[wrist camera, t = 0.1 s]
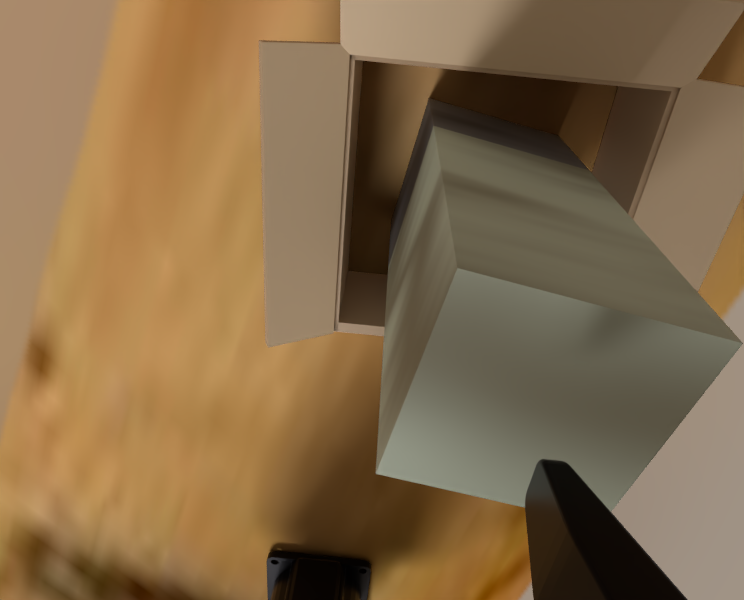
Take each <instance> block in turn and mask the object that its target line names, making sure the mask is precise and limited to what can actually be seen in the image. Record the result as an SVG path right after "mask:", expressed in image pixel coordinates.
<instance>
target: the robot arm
mask: <svg viewBox="0 0 744 600" xmlns="http://www.w3.org/2000/svg"><path fill="white" fill-rule="evenodd" d="M525 512H526V523H527V534H528V545H529V555H530V566H531V577H532V588H533V597H534V600H687V599H686V597H685V596H684V595H683V594H682V593H681V592H680V591H679V590H678V588H677V587H676V586H675V585H674V584H673V583H672V581H671V580H670V579H669V578H668V577H667V576H666V575H665V574H664V572H663V571H662V570H661V569H660V568H659V567H658V565H657V564H656V563H655V562H654V561H653V560H652V559H651V557H650V556H649V555H648V554H647V553H646V552H645V551H644V550H643V548H642V547H641V546H640V545H639V544H638V543H637V541H636V540H635V539H634V538H633V537H632V536H631V535H630V533H629V532H628V531H627V530H626V529H625V528H624V527H623V525H622V524H621V523H620V522H619V521H618V520H617V518H616V517H615V516H614V515H613V514H612V513H611V512H610V510H609V509H608V508H607V507H606V506H605V505H604V504H603V502H602V501H601V500H600V499H599V498H598V497H597V496H596V494H595V493H594V492H593V491H592V490H591V489H590V488H589V486H588V485H587V484H586V483H585V482H584V481H583V480H582V478H581V477H580V476H579V475H578V474H577V473H576V472H575V470H574V469H573V468H572V467H571V466H570V465H569V464H568V463H566V462H564V461H560V460H550V459H541V460H539V461H538V463H537V464H536V467H535V470H534V472H533V475H532V478H531V481H530V484H529V486H528V489H527V492H526V497H525ZM370 574H371V564H370V563H369V562H368V561H365V560H355V559H346V558H336V557H326V556H316V555H306V554H296V553H286V552H277V551H273V552H270V553H269V554H268V558H267V587H268V600H367V595H368V588H369V581H370Z"/></svg>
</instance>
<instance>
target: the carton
mask: <svg viewBox="0 0 744 600" xmlns="http://www.w3.org/2000/svg"><path fill="white" fill-rule="evenodd" d="M743 11H744V0H340V40H341V43H335V42H300V41H265V40H259V69H260V114H261V159H262V204H263V250H264V295H265V340H266V344H267V346H268V347H273V346H277V345H282V344H286V343H291V342H296V341H300V340H305V339H309V338H314V337H319V336H323V335H328V334H332V333H334V331H337V332H347V333H357V334H366V335H376V336H384V329H385V312H386V296H387V279H388V275H385V274H375V273H365V272H355V271H348V266H349V252H350V238H351V224H352V210H353V195H354V181H355V167H356V153H357V139H358V124H359V110H360V96H361V82H362V67H363V61H372V62H382V63H392V64H402V65H412V66H422V67H432V68H442V69H452V70H462V71H472V72H482V73H492V74H502V75H512V76H522V77H532V78H542V79H552V80H562V81H572V82H582V83H592V84H602V85H612V86H618V89H617V92H616V96H615V99H614V102H613V105H612V109H611V112H610V115H609V118H608V122H607V125H606V128H605V132H604V135H603V138H602V141H601V145H600V148H599V151H598V155H597V158H596V161H595V164H594V168H593V171H592V174H593V175H594V176H595V178H596V179H597V180H598V181H599V182H600V183H601V184H602V185H603V187H604V188H605V189H606V190H607V191H608V192H609V193H610V194H611V196H612V197H613V198H614V199H615V200H616V201H617V202H618V203H619V205H620V206H621V207H622V208H623V209H624V210H625V211H626V212H627V214H628V215H629V216H630V217H631V218H632V219H633V220H634V221H635V223H636V224H637V225H638V226H639V227H640V228H641V229H642V230H643V232H644V233H645V234H646V235H647V236H648V237H649V238H650V239H651V241H652V242H653V243H654V244H655V245H656V246H657V247H658V248H659V250H660V251H661V252H662V253H663V254H664V255H665V256H666V257H667V259H668V260H669V261H670V262H671V263H672V264H673V265H674V266H675V268H676V269H677V270H678V271H679V272H680V273H681V274H682V275H683V277H684V278H685V279H686V280H687V281H688V282H689V283H690V284H691V286H692V287H693V288H694V289H695V290H696V291H697V292H698V291H699V288H700V286H701V284H702V282H703V280H704V278H705V275H706V273H707V271H708V269H709V267H710V265H711V263H712V260H713V258H714V256H715V254H716V252H717V250H718V248H719V245H720V243H721V241H722V239H723V237H724V235H725V232H726V230H727V228H728V226H729V224H730V222H731V220H732V217H733V215H734V213H735V211H736V209H737V207H738V205H739V202H740V200H741V198H742V196H743V194H744V86H740V85H734V84H728V83H722V82H715V81H709V80H703V79H697V78H698V76H699V75H700V74H701V72H702V71H703V69H704V68H705V66H706V65H707V63H708V62H709V60H710V59H711V57H712V56H713V55H714V53H715V52H716V50H717V49H718V47H719V46H720V44H721V43H722V41H723V40H724V39H725V37H726V36H727V34H728V33H729V31H730V30H731V28H732V27H733V25H734V24H735V23H736V21H737V20H738V18H739V17H740V15H741V14H742V12H743Z"/></svg>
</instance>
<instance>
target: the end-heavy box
mask: <svg viewBox="0 0 744 600" xmlns="http://www.w3.org/2000/svg"><path fill="white" fill-rule="evenodd" d="M742 344H743V343H742V342H741V341H740V340H739V338H738V337H737V336H736V335H735V334H734V333H733V332H732V330H731V329H730V328H729V327H728V326H727V325H726V324H725V323H724V321H723V320H722V319H721V318H720V317H719V316H718V315H717V314H716V312H715V311H714V310H713V309H712V308H711V307H710V306H709V305H708V303H707V302H706V301H705V300H704V299H703V298H702V297H701V296H700V294H699V293H698V292H697V291H696V290H695V289H694V288H693V287H692V286H691V284H690V283H689V282H688V281H687V280H686V279H685V278H684V277H683V275H682V274H681V273H680V272H679V271H678V270H677V269H676V268H675V266H674V265H673V264H672V263H671V262H670V261H669V260H668V259H667V257H666V256H665V255H664V254H663V253H662V252H661V251H660V250H659V248H658V247H657V246H656V245H655V244H654V243H653V242H652V241H651V239H650V238H649V237H648V236H647V235H646V234H645V233H644V232H643V230H642V229H641V228H640V227H639V226H638V225H637V224H636V223H635V221H634V220H633V219H632V218H631V217H630V216H629V215H628V214H627V212H626V211H625V210H624V209H623V208H622V207H621V206H620V205H619V203H618V202H617V201H616V200H615V199H614V198H613V197H612V196H611V194H610V193H609V192H608V191H607V190H606V189H605V188H604V187H603V185H602V184H601V183H600V182H599V181H598V180H597V179H596V178H595V176H594V175H593V174H592V173H591V172H590V171H589V170H588V169H587V167H586V166H585V165H584V164H583V163H582V162H581V161H580V160H579V158H578V157H577V156H576V155H575V154H574V153H573V152H572V151H571V149H570V148H569V147H568V146H567V145H566V144H565V143H564V142H563V140H562V139H561V138H560V137H559V136H557V135H554V134H550V133H547V132H544V131H540V130H537V129H533V128H530V127H526V126H523V125H520V124H516V123H513V122H509V121H506V120H502V119H499V118H496V117H492V116H489V115H485V114H482V113H478V112H475V111H472V110H468V109H465V108H461V107H458V106H454V105H451V104H448V103H444V102H441V101H437V100H434V99H431V98H429V100H428V103H427V106H426V109H425V113H424V116H423V119H422V122H421V126H420V129H419V132H418V135H417V139H416V142H415V145H414V148H413V152H412V155H411V158H410V161H409V165H408V168H407V171H406V174H405V178H404V181H403V184H402V187H401V191H400V194H399V197H398V200H397V204H396V207H395V210H394V213H393V217H392V220H391V230H390V247H389V263H388V279H387V296H386V312H385V329H384V345H383V361H382V378H381V394H380V410H379V427H378V443H377V460H376V474H379V475H383V476H388V477H392V478H396V479H401V480H405V481H410V482H414V483H419V484H423V485H428V486H432V487H436V488H441V489H445V490H450V491H454V492H459V493H463V494H467V495H472V496H476V497H481V498H485V499H490V500H494V501H499V502H503V503H507V504H512V505H516V506H521V507H525V497H526V492H527V489H528V486H529V484H530V481H531V478H532V475H533V472H534V470H535V467H536V464H537V463H538V461H539V460H541V459H550V460H560V461H564V462H566V463H568V464H569V465H570V466H571V467H572V468H573V469H574V470H575V472H576V473H577V474H578V475H579V476H580V477H581V478H582V480H583V481H584V482H585V483H586V484H587V485H588V486H589V488H590V489H591V490H592V491H593V492H594V493H595V494H596V496H597V497H598V498H599V499H600V500H601V501H602V502H603V504H604V505H605V506H606V507H607V508H608V509H609V510H610V512H611V511H612V510H613V509H614V507H615V506H616V505H617V503H618V502H619V501H620V500H621V498H622V497H623V496H624V494H625V493H626V492H627V491H628V489H629V488H630V487H631V486H632V484H633V483H634V482H635V481H636V479H637V478H638V477H639V475H640V474H641V473H642V472H643V470H644V469H645V467H647V465H648V464H649V463H650V461H651V460H652V459H653V458H654V456H655V455H656V454H657V452H658V451H659V450H660V449H661V447H662V446H663V445H664V444H665V442H666V441H667V440H668V438H669V437H670V436H671V435H672V433H673V432H674V431H675V429H676V428H677V427H678V426H679V424H680V423H681V422H682V421H683V419H684V418H685V417H686V415H687V414H688V413H689V412H690V410H691V409H692V408H693V407H694V405H695V404H696V402H697V401H698V400H699V399H700V398H701V396H702V395H703V394H704V392H705V391H706V390H707V388H708V387H709V386H710V385H711V384H712V382H713V381H714V380H715V378H716V377H717V376H718V375H719V373H720V372H721V370H722V369H723V368H724V367H725V365H726V364H727V363H728V362H729V360H730V359H731V358H732V357H733V355H734V354H735V353H736V351H737V350H738V349H739V348H740V346H741V345H742Z"/></svg>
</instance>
